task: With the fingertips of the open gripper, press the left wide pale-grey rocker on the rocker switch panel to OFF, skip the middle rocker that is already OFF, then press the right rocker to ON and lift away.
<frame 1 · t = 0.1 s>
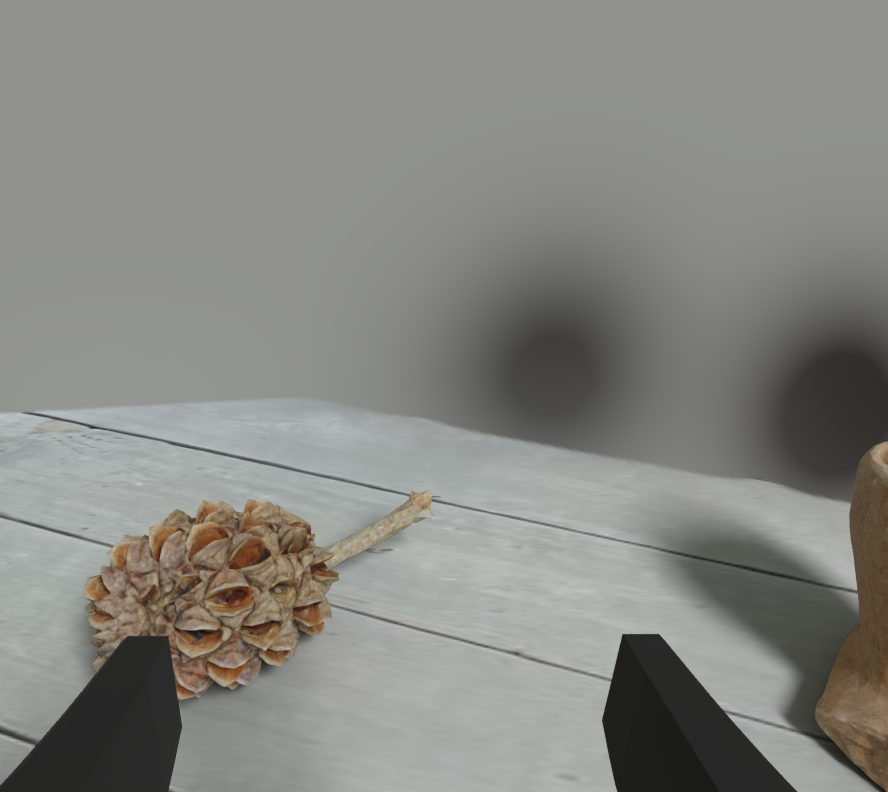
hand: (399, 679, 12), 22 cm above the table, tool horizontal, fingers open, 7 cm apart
pine cone: (289, 632, 44), on the table
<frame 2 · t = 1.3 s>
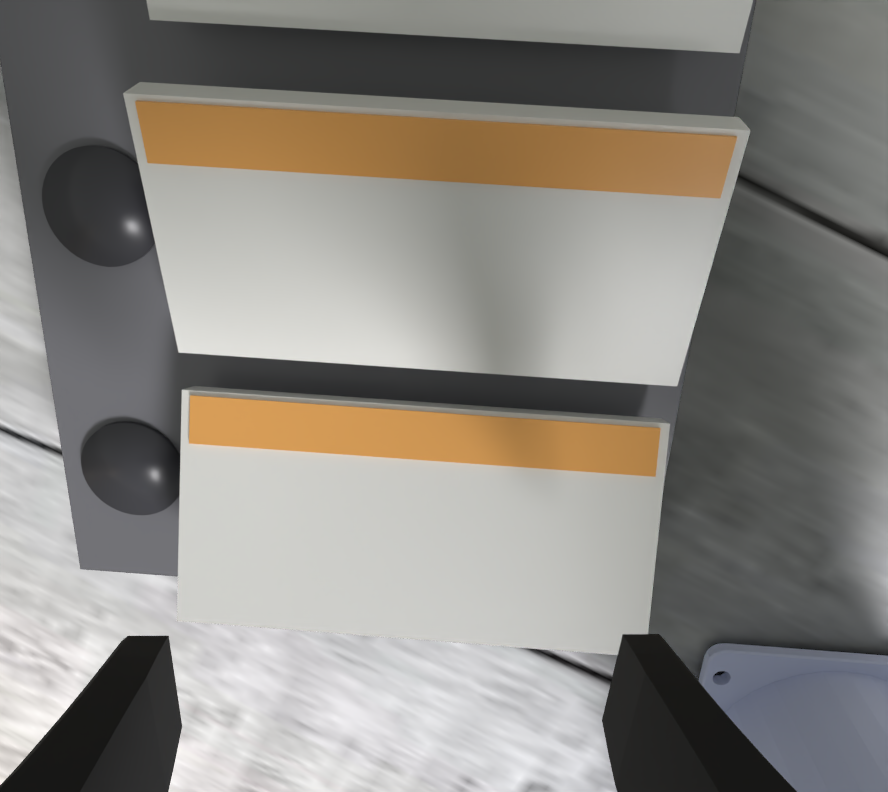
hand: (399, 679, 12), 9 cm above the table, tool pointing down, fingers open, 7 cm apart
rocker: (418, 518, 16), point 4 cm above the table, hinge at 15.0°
rocker middle: (431, 242, 14), point 4 cm above the table, hinge at -15.0°
rocker switch panel: (381, 204, 18), on the table
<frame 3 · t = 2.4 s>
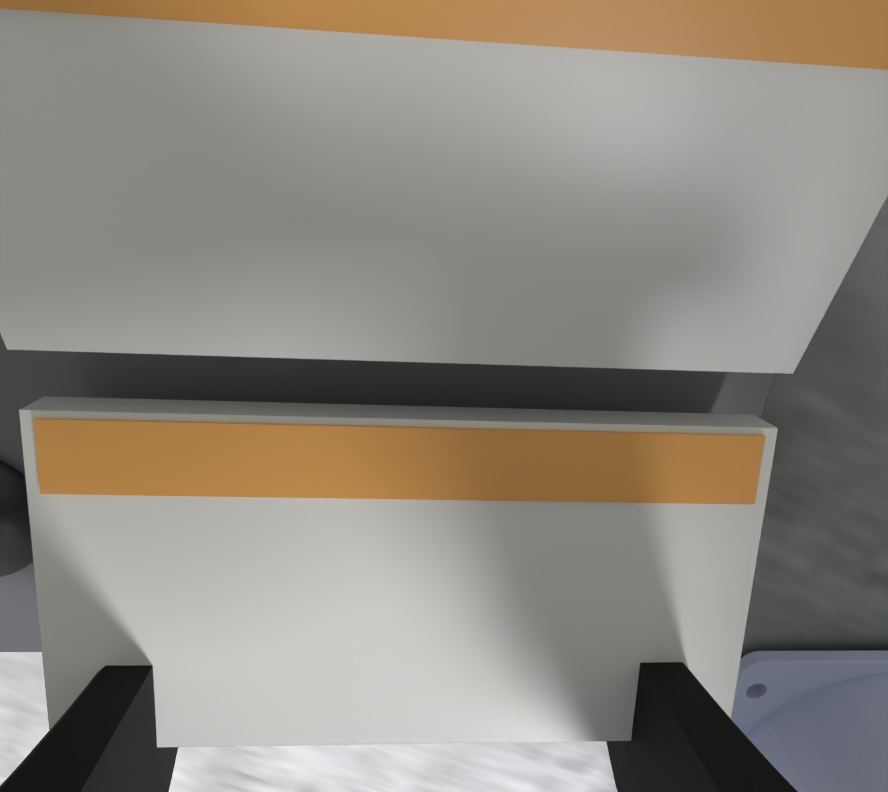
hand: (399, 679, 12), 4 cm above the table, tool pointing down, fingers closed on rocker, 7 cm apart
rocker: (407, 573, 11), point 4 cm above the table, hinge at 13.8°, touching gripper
rocker middle: (429, 157, 8), point 4 cm above the table, hinge at -15.0°
rocker switch panel: (323, 99, 12), on the table
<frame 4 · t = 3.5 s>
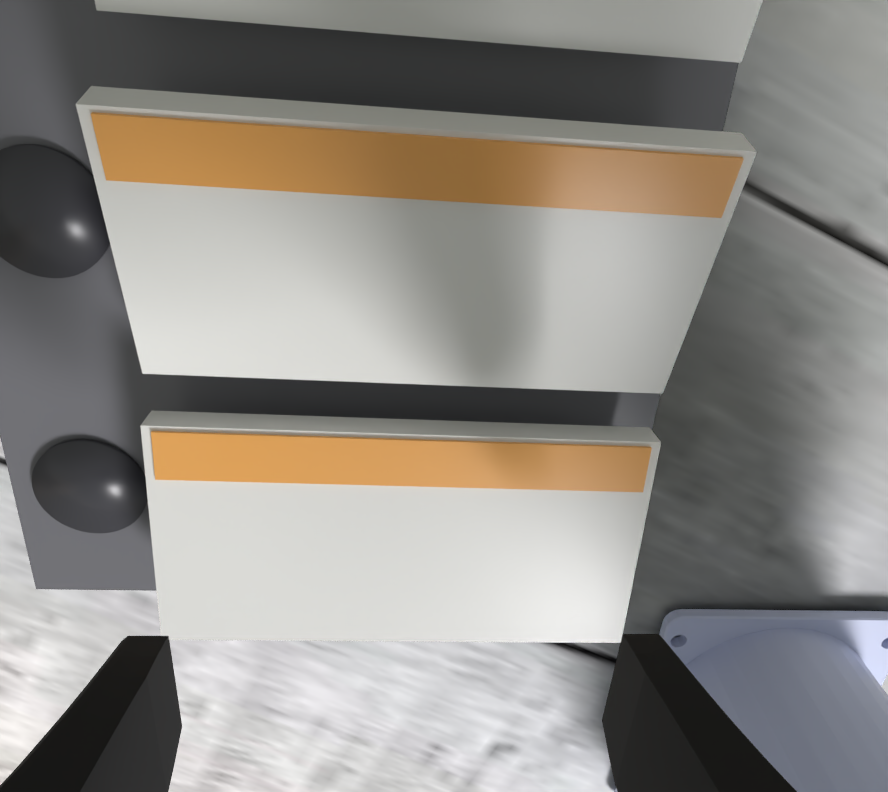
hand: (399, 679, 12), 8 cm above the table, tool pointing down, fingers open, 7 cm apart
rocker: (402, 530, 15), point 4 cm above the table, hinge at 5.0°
rocker middle: (419, 257, 13), point 4 cm above the table, hinge at -15.0°
rocker switch panel: (346, 194, 17), on the table
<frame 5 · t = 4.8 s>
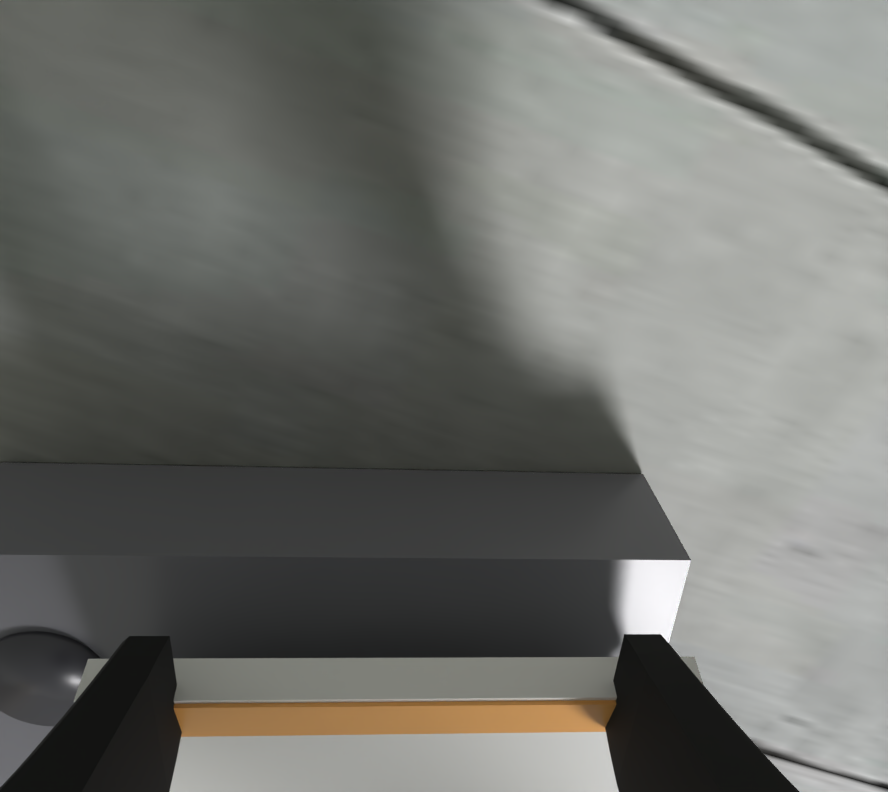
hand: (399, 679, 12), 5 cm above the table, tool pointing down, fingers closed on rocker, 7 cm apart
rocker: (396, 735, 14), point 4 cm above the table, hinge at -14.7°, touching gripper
rocker switch panel: (333, 746, 20), on the table
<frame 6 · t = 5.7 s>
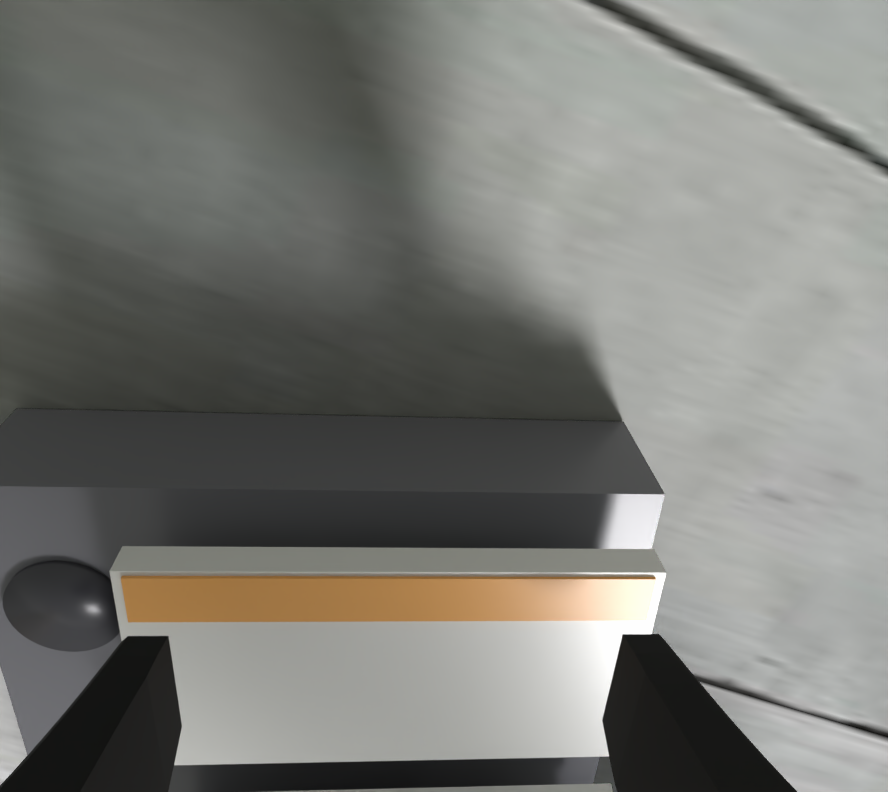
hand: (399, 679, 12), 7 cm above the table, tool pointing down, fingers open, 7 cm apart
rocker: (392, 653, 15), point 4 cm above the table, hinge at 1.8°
rocker switch panel: (333, 685, 21), on the table
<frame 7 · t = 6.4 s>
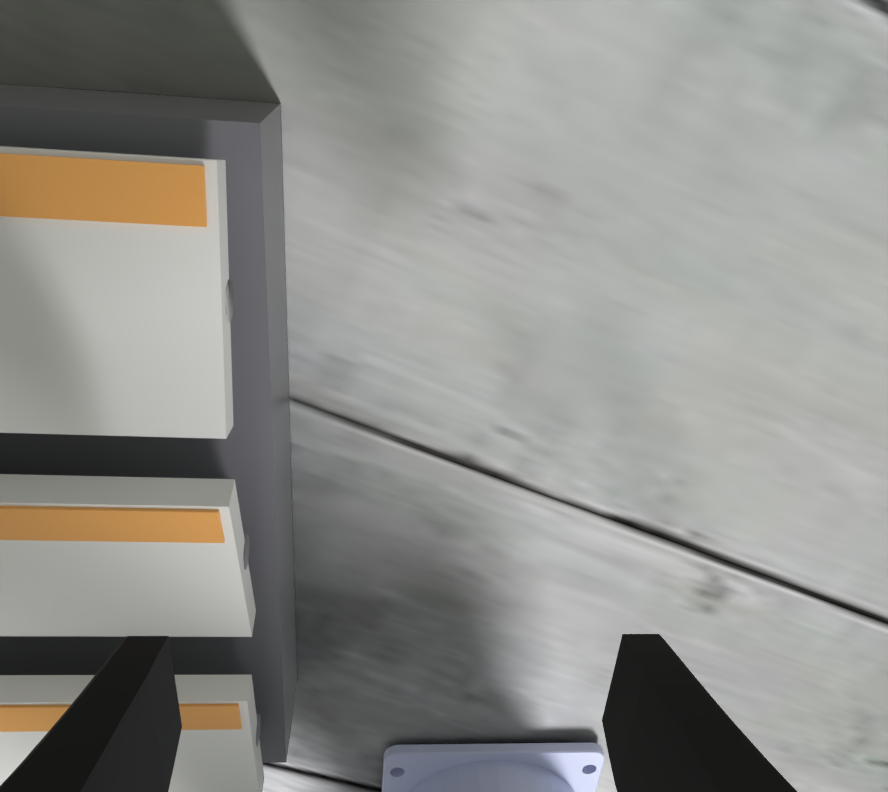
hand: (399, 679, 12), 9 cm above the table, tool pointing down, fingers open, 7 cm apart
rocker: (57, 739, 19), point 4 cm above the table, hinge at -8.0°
rocker middle: (9, 555, 16), point 4 cm above the table, hinge at -15.0°
rocker switch panel: (24, 444, 20), on the table
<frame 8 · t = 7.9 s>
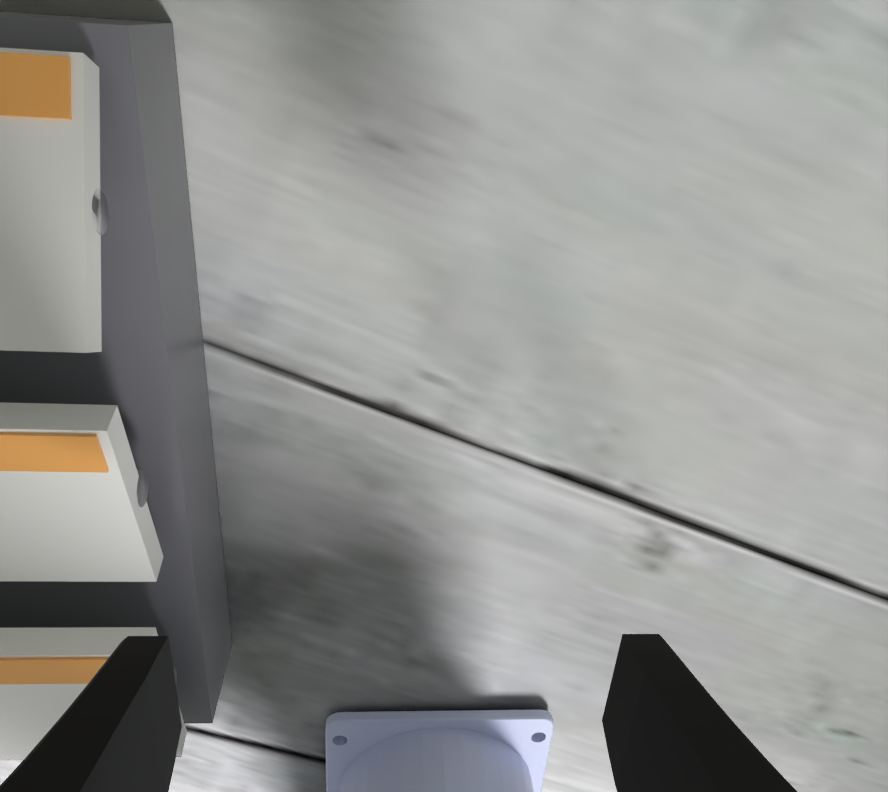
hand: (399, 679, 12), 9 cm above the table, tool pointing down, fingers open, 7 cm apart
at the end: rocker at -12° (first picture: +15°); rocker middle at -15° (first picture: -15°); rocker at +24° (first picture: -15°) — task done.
